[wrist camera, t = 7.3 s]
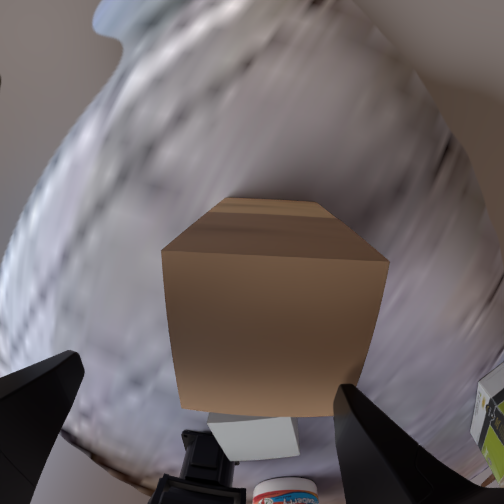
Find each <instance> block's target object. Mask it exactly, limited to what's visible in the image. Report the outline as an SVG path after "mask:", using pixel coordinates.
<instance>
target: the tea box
mask: <svg viewBox="0 0 504 504" xmlns="http://www.w3.org/2000/svg"><path fill="white" fill-rule="evenodd" d="M470 433H471V435H472V436H473V438H474V440H475V442H476V443H477V445H478V446H479V448H480V450H481V452H482V454H483V456H484V457H485V459H486V461H487V463H488V465H489V467H490V468H491V470H492V472H493V474H494V476H495V478H496V480H497V482H498V484H499V486H500V488H504V362H503V363H501V364H500V365H499V366H498V367H497V368H495V369H494V370H493V371H491V372H490V373H489V374H488V375H486V376H485V377H484V378H482V379H481V380H480V381H479V382H478V389H477V397H476V403H475V409H474V415H473V420H472V425H471V430H470Z"/></svg>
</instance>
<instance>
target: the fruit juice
mask: <svg viewBox="0 0 504 504" xmlns="http://www.w3.org/2000/svg"><path fill="white" fill-rule="evenodd" d="M253 504H319V503H318V492H317V487H316V485H315V483H314V482H313V481H311V480H309V479H305V478H298V477H283V478H275V479H270V480H266V481H263V482H261V483H259V484H258V485H257V486H256V487H255V489H254V493H253Z"/></svg>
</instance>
